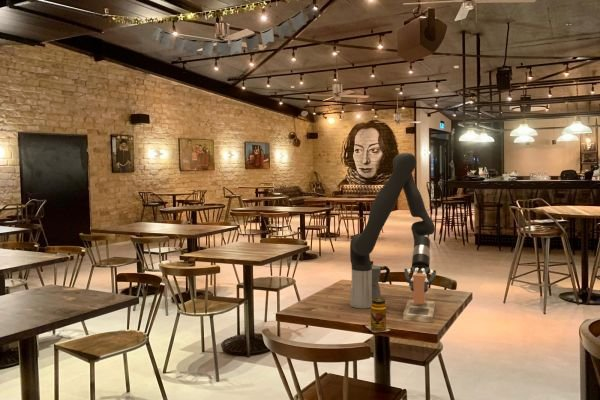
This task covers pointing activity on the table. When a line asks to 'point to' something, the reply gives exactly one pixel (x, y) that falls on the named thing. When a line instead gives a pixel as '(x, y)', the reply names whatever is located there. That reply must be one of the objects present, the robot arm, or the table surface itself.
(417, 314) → the puzzle board
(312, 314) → the table surface
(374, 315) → the condiment
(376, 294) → the coffeepot
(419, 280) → the block
